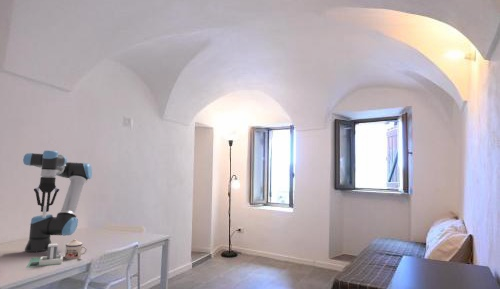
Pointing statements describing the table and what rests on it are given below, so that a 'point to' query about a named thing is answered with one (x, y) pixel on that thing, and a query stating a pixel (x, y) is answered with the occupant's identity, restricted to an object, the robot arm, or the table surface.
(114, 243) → the table surface
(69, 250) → the teacup with lid
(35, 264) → the board
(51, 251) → the plug
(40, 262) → the header
